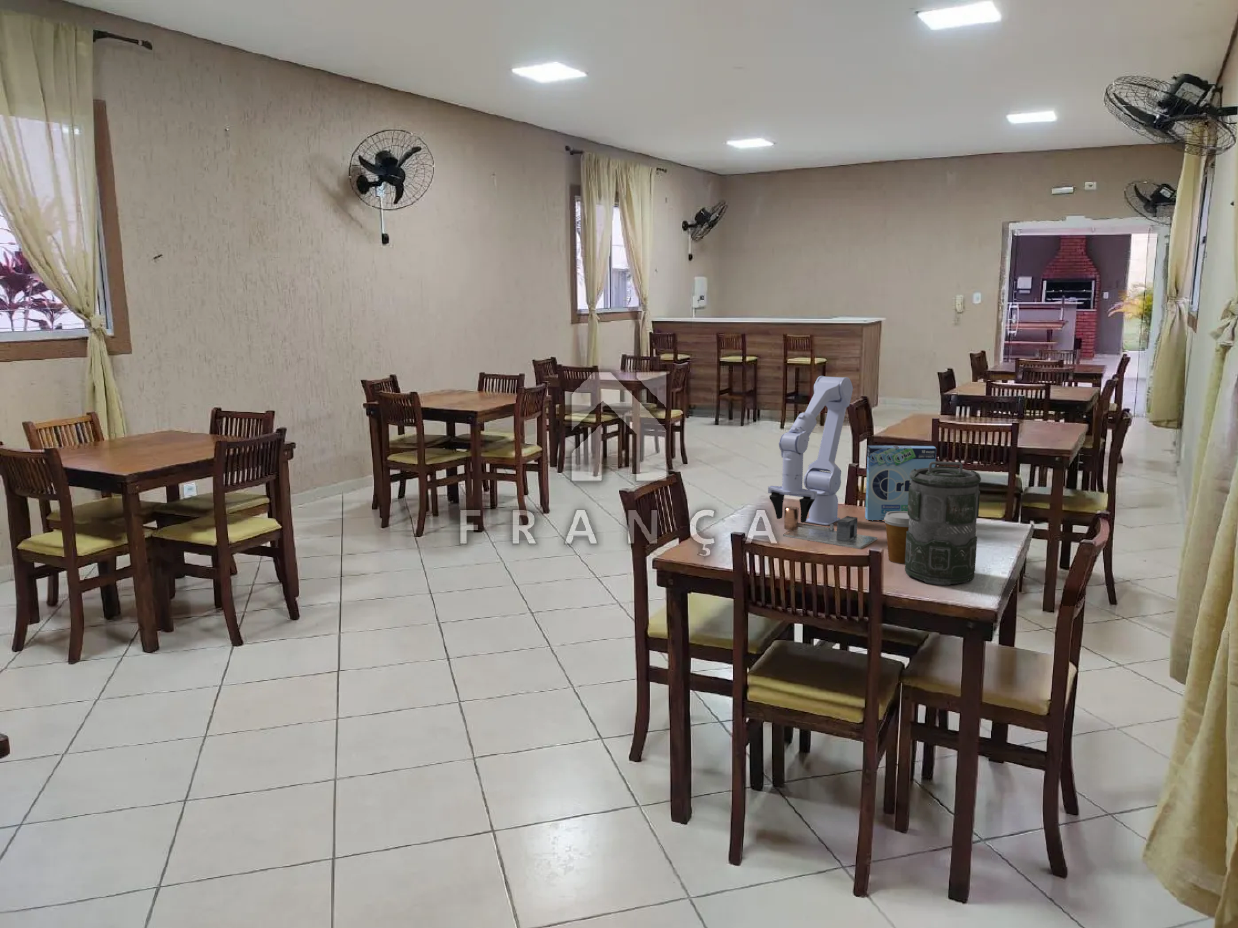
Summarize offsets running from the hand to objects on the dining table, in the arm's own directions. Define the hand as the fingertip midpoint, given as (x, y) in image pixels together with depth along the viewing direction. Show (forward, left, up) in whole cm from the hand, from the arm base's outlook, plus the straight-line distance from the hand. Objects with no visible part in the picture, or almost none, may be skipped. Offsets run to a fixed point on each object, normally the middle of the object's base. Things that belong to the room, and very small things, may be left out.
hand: (791, 520), depth 248 cm
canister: (+18, +48, -4) cm, 51 cm away
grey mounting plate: (0, +12, -3) cm, 12 cm away
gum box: (-32, +20, -4) cm, 38 cm away
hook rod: (0, +6, -2) cm, 6 cm away
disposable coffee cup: (+10, +36, -4) cm, 38 cm away
